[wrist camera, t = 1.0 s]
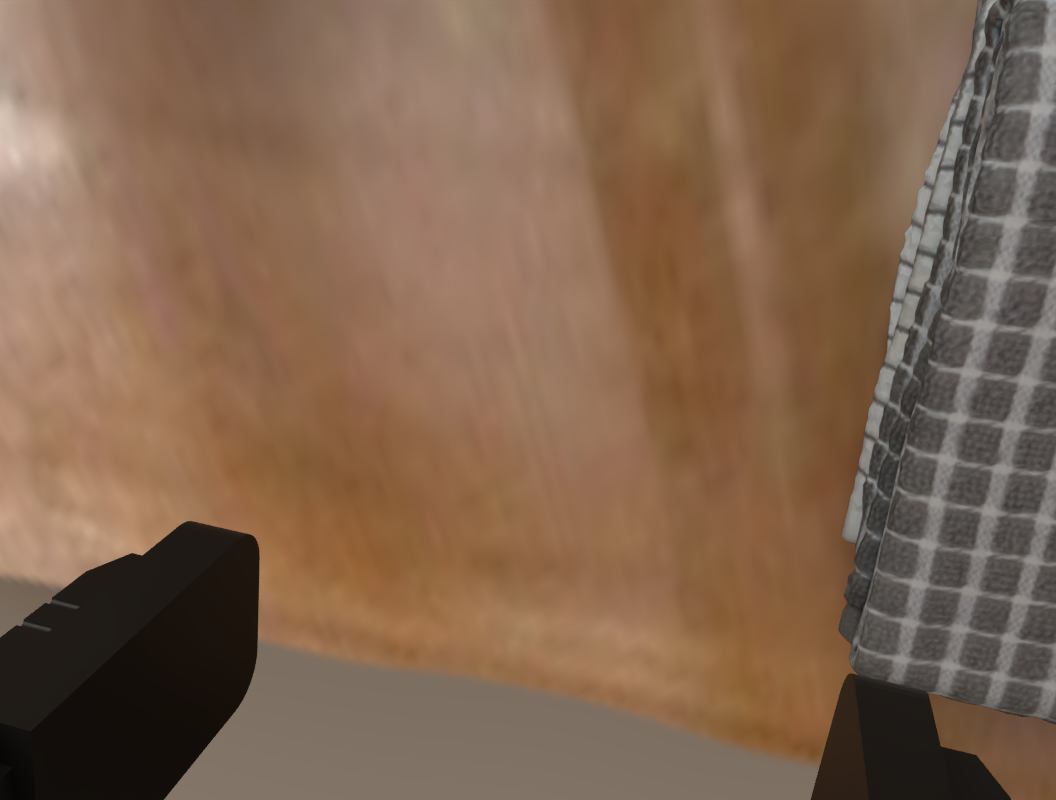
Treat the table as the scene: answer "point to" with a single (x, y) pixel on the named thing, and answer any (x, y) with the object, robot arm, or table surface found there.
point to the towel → (970, 400)
